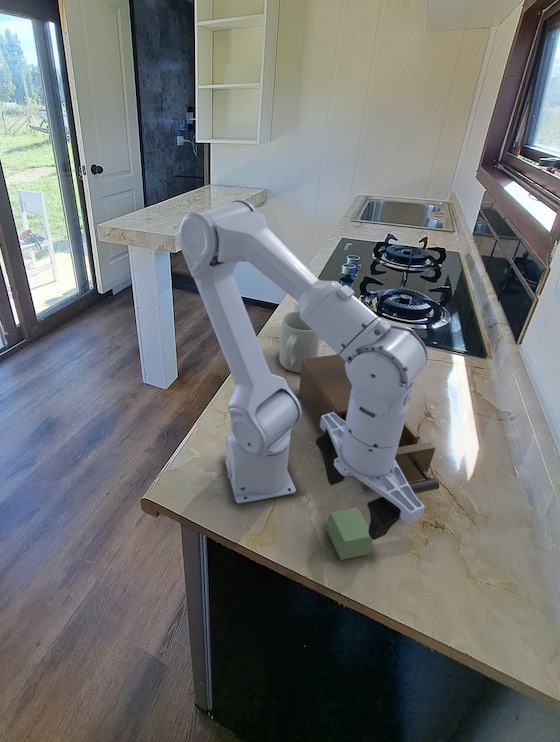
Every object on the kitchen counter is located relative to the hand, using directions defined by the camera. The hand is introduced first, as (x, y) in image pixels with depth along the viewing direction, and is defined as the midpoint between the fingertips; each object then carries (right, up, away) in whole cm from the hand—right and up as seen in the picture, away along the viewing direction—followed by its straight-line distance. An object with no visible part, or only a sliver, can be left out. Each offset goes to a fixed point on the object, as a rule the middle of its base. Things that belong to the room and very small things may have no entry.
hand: (355, 506), depth 49 cm
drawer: (+9, 0, +14) cm, 17 cm away
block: (0, -7, +3) cm, 8 cm away
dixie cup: (+8, +16, +50) cm, 53 cm away
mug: (+2, +10, +38) cm, 40 cm away
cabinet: (+7, +4, +24) cm, 26 cm away
